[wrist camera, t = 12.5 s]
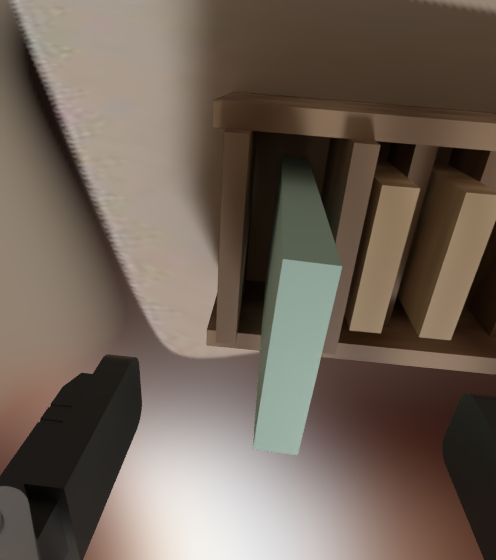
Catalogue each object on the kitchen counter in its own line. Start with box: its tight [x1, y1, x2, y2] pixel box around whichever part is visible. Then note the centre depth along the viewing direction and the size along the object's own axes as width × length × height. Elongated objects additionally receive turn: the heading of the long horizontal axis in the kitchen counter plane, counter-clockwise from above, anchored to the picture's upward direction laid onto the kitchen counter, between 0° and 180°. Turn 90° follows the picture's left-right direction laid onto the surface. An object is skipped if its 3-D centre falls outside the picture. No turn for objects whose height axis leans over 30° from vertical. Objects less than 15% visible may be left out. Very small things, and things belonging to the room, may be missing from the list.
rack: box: [207, 92, 496, 374], centre depth 21 cm, size 16×12×8 cm
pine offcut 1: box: [345, 155, 420, 333], centre depth 21 cm, size 2×7×7 cm, turn 176°
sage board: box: [253, 155, 342, 455], centre depth 18 cm, size 2×7×14 cm, turn 174°
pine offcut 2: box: [397, 160, 496, 340], centre depth 21 cm, size 2×7×7 cm, turn 176°
